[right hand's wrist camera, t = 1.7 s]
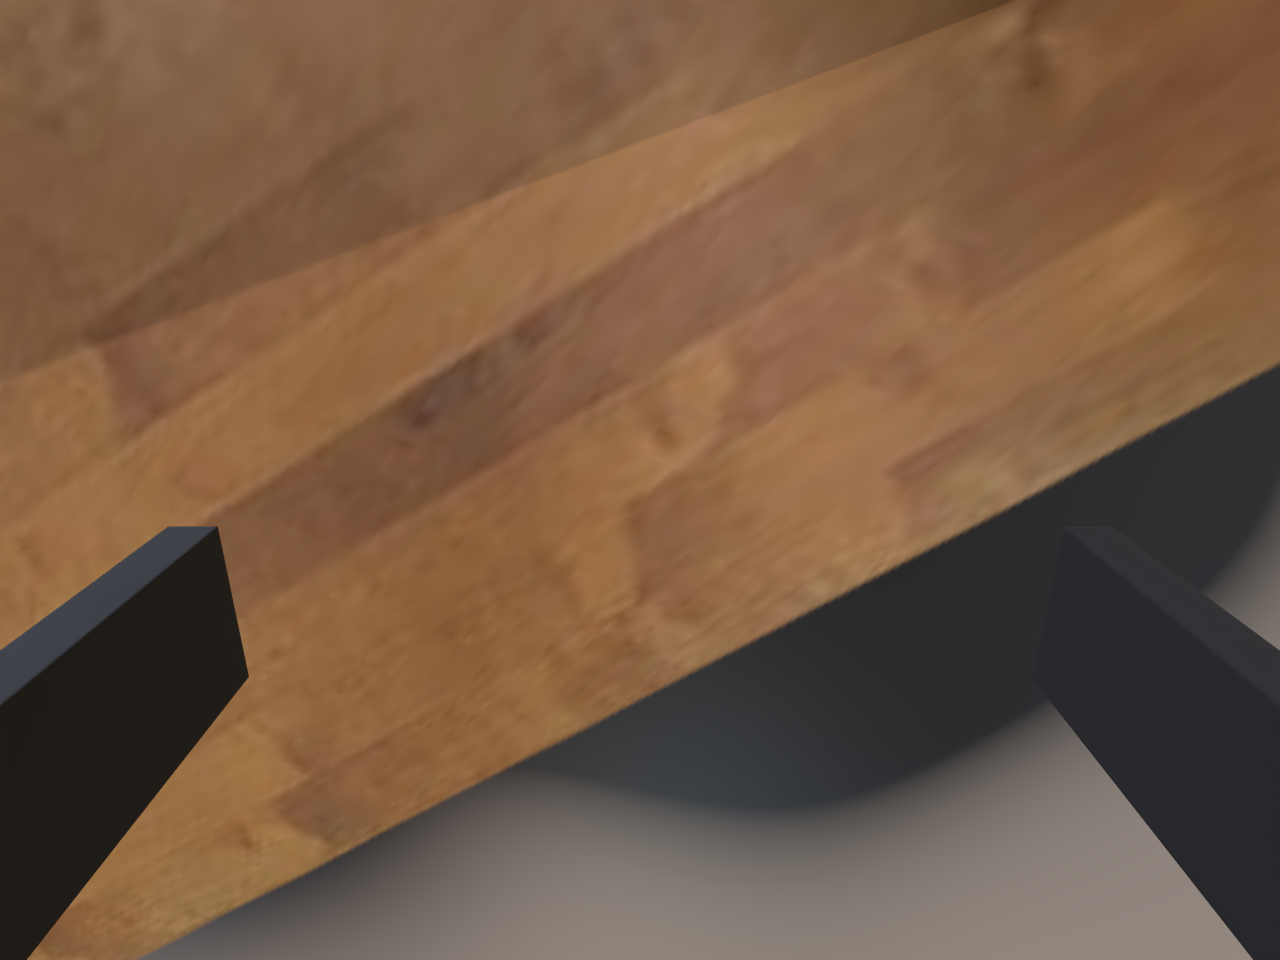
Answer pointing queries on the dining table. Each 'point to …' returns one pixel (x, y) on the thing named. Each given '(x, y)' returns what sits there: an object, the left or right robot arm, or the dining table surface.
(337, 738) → the dining table surface
